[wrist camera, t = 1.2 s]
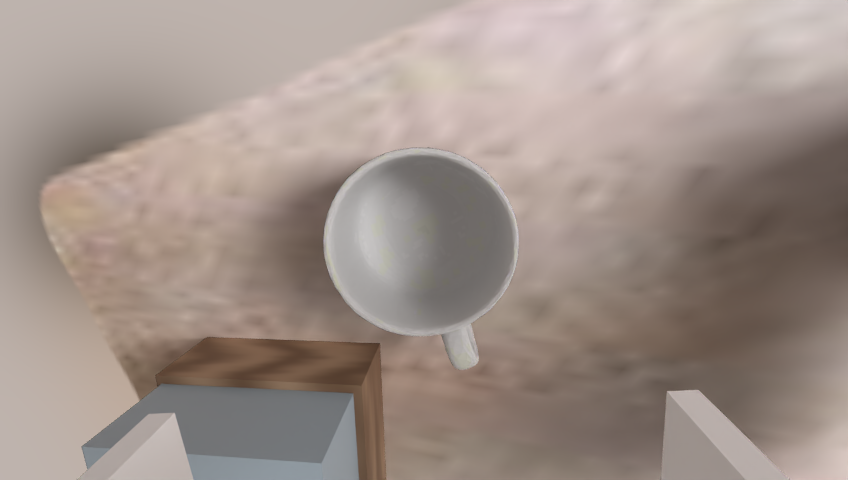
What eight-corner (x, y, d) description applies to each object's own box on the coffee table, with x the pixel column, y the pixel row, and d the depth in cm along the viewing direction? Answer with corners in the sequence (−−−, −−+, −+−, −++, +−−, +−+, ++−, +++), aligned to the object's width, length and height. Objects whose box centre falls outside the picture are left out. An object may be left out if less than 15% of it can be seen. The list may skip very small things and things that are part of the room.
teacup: (346, 160, 28) (301, 166, 21) (495, 134, 27) (507, 130, 19) (382, 333, 31) (355, 395, 24) (518, 319, 30) (536, 379, 22)
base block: (380, 341, 32) (361, 385, 26) (387, 491, 35) (372, 559, 30) (209, 335, 33) (155, 375, 28) (232, 480, 37) (188, 542, 31)
